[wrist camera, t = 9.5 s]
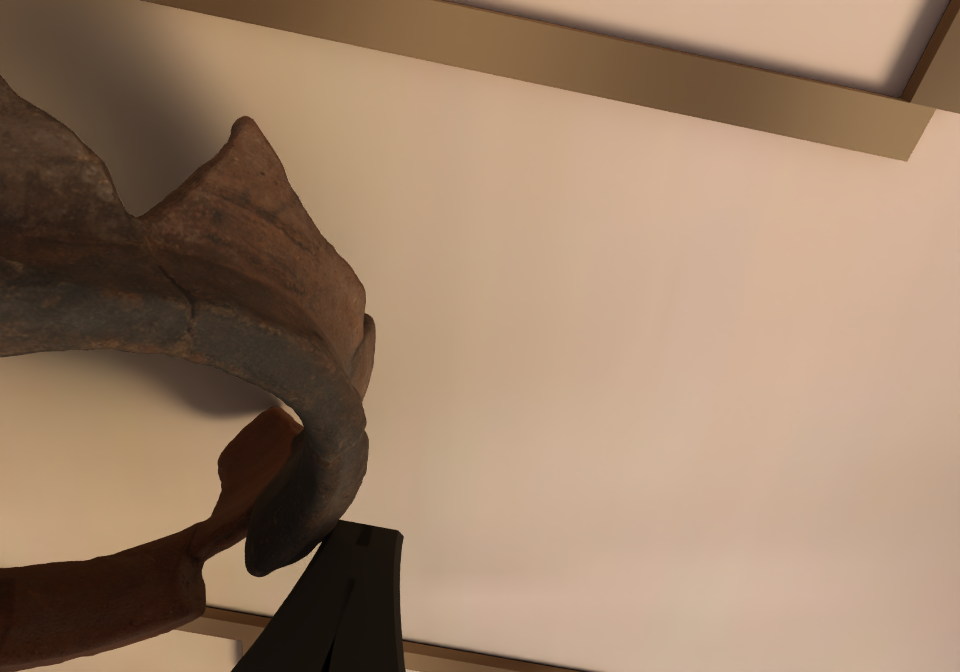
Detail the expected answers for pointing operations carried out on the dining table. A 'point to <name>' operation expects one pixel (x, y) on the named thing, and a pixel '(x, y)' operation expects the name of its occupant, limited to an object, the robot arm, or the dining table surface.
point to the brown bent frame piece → (195, 337)
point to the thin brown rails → (613, 75)
